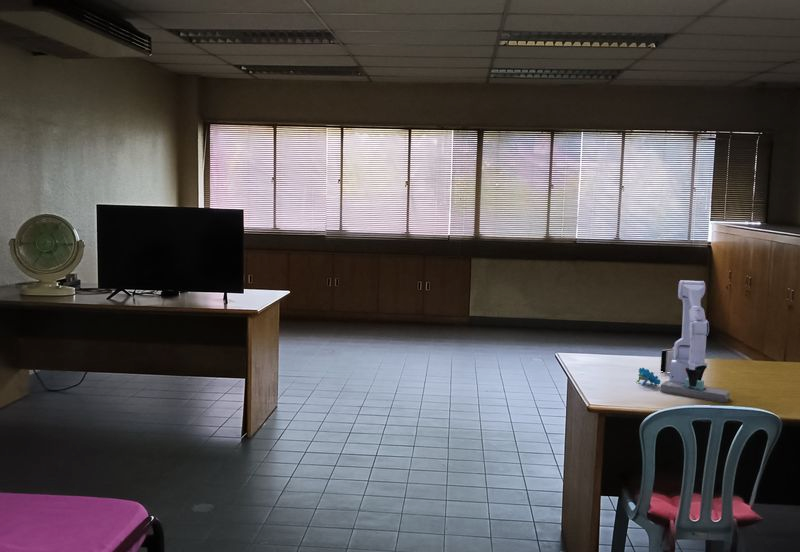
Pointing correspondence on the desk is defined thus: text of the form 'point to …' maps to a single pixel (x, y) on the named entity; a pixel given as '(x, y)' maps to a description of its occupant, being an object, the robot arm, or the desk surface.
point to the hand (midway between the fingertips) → (695, 384)
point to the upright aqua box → (699, 384)
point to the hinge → (666, 359)
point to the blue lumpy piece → (647, 377)
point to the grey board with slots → (695, 391)
